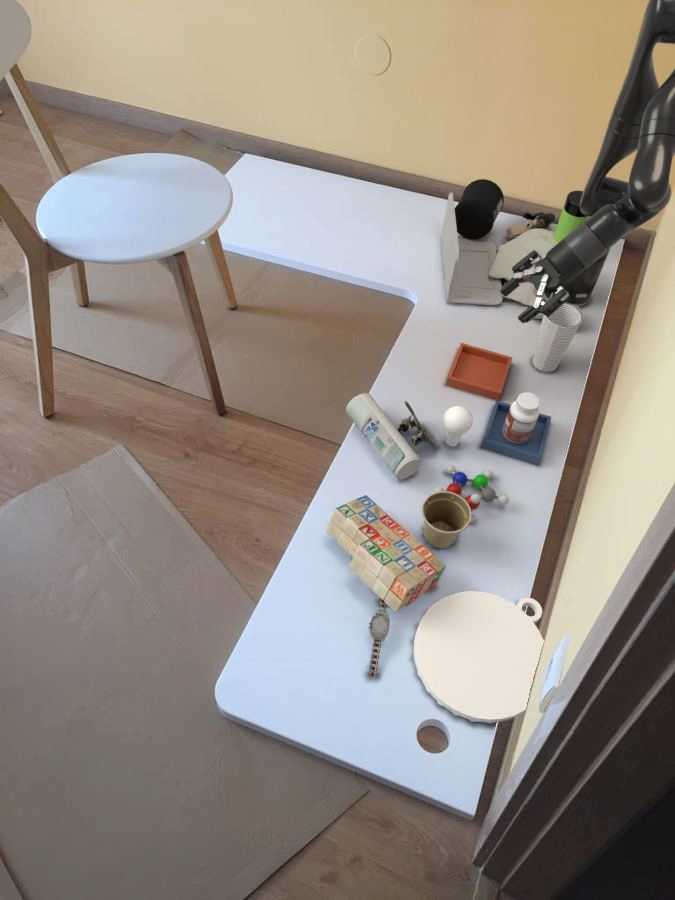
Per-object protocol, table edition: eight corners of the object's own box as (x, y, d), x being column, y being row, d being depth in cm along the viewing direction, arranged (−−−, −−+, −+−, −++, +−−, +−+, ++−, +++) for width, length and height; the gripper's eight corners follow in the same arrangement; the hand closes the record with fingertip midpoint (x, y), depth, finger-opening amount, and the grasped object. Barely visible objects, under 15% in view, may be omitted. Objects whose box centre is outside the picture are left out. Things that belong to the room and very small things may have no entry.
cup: (566, 358, 179) (586, 309, 167) (557, 381, 174) (577, 332, 162) (532, 346, 181) (549, 297, 169) (522, 368, 176) (540, 319, 164)
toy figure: (525, 232, 201) (560, 221, 208) (516, 211, 201) (552, 200, 208) (508, 243, 207) (542, 232, 215) (499, 222, 207) (534, 211, 214)
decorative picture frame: (439, 462, 154) (414, 456, 164) (458, 439, 155) (433, 435, 165) (403, 422, 150) (380, 419, 160) (423, 399, 151) (399, 397, 161)
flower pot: (449, 564, 142) (458, 541, 135) (407, 541, 145) (412, 517, 138) (471, 530, 147) (479, 505, 140) (429, 508, 150) (436, 483, 143)
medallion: (485, 749, 119) (482, 754, 121) (588, 649, 131) (584, 654, 132) (386, 641, 129) (385, 647, 131) (490, 557, 141) (487, 564, 143)
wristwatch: (392, 600, 137) (394, 595, 132) (380, 680, 131) (381, 678, 127) (372, 596, 137) (374, 591, 132) (360, 677, 132) (361, 674, 127)
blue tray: (493, 407, 168) (496, 400, 166) (548, 423, 166) (551, 416, 164) (480, 447, 161) (483, 440, 159) (537, 465, 159) (541, 458, 157)
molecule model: (424, 479, 158) (436, 524, 147) (430, 453, 153) (442, 497, 142) (493, 481, 159) (509, 526, 149) (500, 454, 155) (518, 499, 144)
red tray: (459, 350, 179) (461, 342, 177) (510, 364, 177) (512, 357, 175) (445, 385, 172) (447, 377, 170) (498, 400, 170) (501, 393, 168)
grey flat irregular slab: (484, 281, 188) (511, 214, 205) (480, 294, 192) (506, 227, 209) (552, 303, 186) (573, 234, 202) (546, 317, 190) (567, 247, 206)
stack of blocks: (355, 517, 148) (313, 535, 139) (366, 493, 145) (324, 511, 136) (434, 588, 139) (394, 613, 130) (447, 565, 136) (408, 589, 127)
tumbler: (574, 247, 207) (594, 191, 194) (577, 263, 202) (597, 207, 189) (547, 244, 207) (566, 188, 194) (549, 260, 203) (568, 204, 189)
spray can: (390, 482, 152) (341, 415, 162) (413, 478, 156) (363, 413, 166) (404, 460, 148) (353, 393, 158) (427, 456, 152) (375, 391, 162)
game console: (503, 307, 189) (518, 259, 177) (446, 304, 189) (456, 254, 177) (493, 241, 207) (505, 192, 195) (440, 237, 206) (449, 188, 194)
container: (448, 241, 207) (465, 209, 218) (491, 246, 203) (506, 213, 214) (448, 201, 198) (466, 170, 209) (493, 205, 194) (509, 173, 205)
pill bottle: (505, 419, 165) (518, 385, 157) (532, 428, 164) (546, 395, 155) (498, 439, 162) (510, 405, 153) (526, 448, 161) (539, 415, 152)
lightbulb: (468, 438, 162) (478, 404, 154) (461, 458, 159) (471, 425, 150) (441, 430, 163) (449, 396, 155) (434, 450, 160) (442, 417, 151)
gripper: (551, 221, 147) (487, 277, 154) (586, 265, 139) (517, 322, 145) (567, 240, 152) (505, 293, 159) (602, 283, 144) (535, 337, 150)
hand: (511, 307), depth 152 cm, fingers open, 8 cm apart
